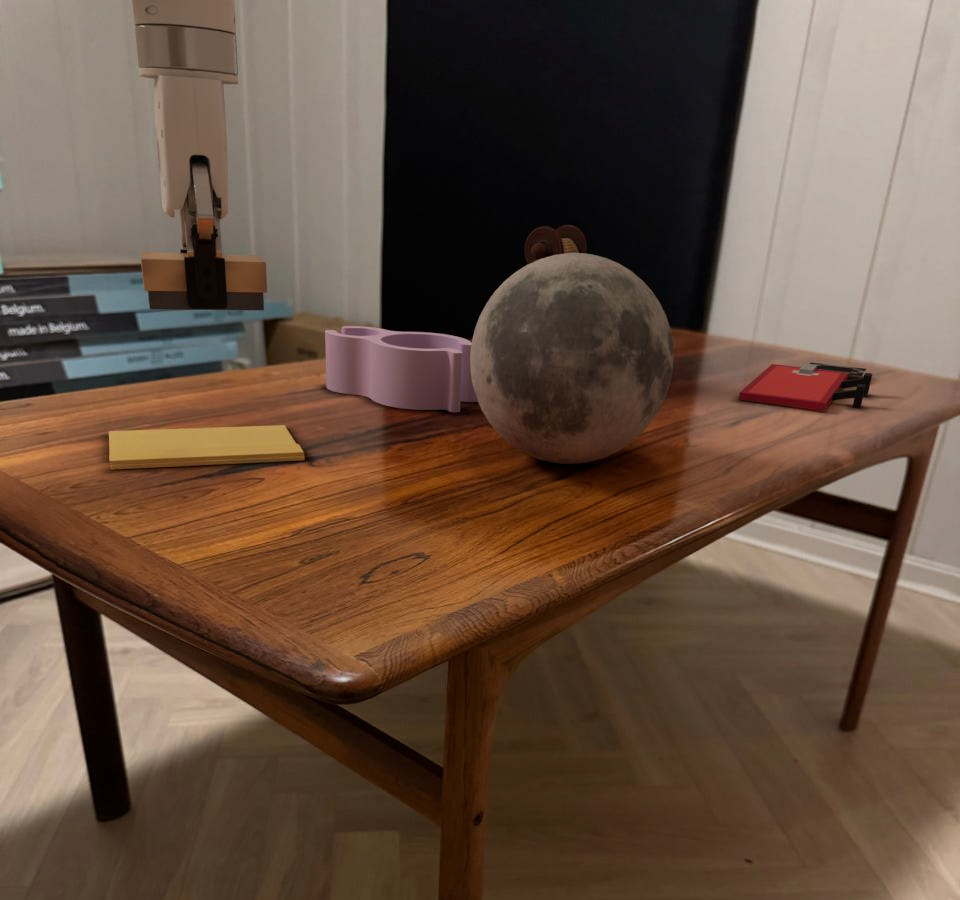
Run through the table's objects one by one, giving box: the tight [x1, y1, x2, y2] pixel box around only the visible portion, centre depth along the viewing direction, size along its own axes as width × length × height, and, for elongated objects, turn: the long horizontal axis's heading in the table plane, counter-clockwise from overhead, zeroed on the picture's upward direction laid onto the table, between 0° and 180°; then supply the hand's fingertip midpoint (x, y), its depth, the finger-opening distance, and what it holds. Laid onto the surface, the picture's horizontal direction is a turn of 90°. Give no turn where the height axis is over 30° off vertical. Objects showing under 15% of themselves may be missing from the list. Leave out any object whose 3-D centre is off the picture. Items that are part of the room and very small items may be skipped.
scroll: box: [524, 224, 588, 265], centre depth 128 cm, size 15×15×20 cm
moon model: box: [470, 253, 675, 465], centre depth 94 cm, size 20×20×20 cm
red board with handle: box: [738, 362, 873, 412], centre depth 137 cm, size 30×3×15 cm
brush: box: [139, 251, 268, 311], centre depth 82 cm, size 10×5×4 cm, turn 109°
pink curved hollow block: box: [324, 325, 478, 413], centre depth 119 cm, size 20×12×7 cm, turn 64°
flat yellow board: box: [108, 424, 306, 471], centre depth 96 cm, size 18×12×1 cm, turn 110°
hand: (205, 300), depth 83 cm, fingers closed on brush, 5 cm apart
